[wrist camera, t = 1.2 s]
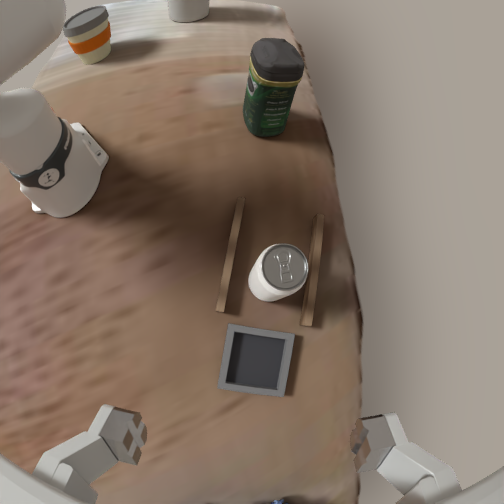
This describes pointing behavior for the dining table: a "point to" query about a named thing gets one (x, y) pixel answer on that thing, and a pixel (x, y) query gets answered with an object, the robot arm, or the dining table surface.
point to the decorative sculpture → (278, 502)
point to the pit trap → (255, 360)
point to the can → (278, 272)
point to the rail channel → (312, 264)
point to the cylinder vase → (188, 10)
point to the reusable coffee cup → (89, 34)
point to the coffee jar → (271, 86)
